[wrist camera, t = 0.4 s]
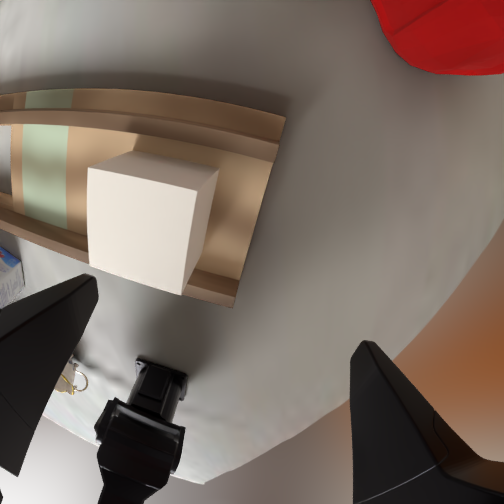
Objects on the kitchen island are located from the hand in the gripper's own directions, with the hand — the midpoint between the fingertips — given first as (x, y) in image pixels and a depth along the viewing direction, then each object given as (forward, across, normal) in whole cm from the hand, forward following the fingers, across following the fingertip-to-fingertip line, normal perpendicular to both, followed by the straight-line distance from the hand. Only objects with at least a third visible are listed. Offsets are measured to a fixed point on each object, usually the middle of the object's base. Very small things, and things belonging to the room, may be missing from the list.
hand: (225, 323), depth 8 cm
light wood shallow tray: (+12, +16, 0) cm, 20 cm away
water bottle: (+12, -9, -17) cm, 23 cm away
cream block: (+10, +6, +1) cm, 12 cm away
